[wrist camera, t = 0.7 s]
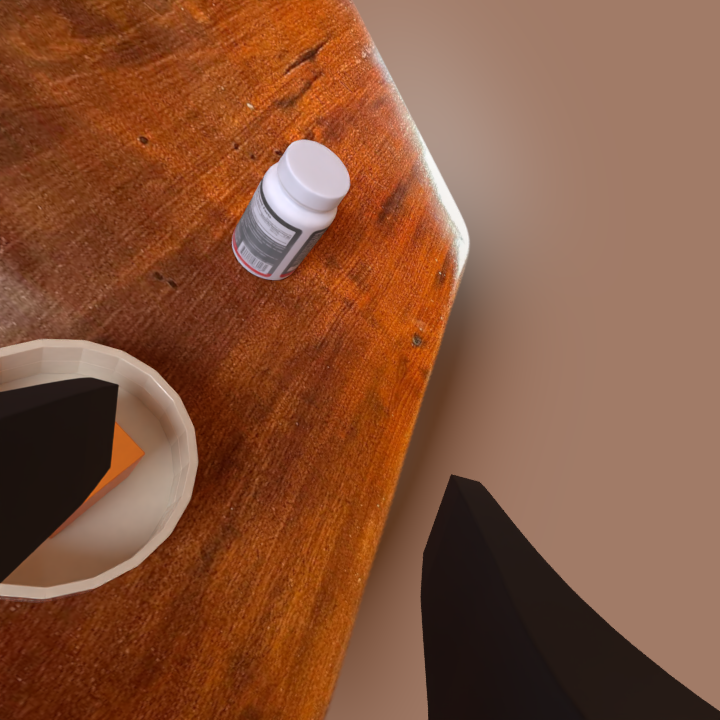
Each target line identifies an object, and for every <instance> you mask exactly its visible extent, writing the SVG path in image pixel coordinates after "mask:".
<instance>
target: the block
mask: <svg viewBox="0 0 720 720" xmlns="http://www.w3.org/2000/svg"><path fill="white" fill-rule="evenodd" d="M144 455H145V452H144V451H143V450H142V449H141V448H140V447H139V446H138V445H137V444H136V442H135V441H134V440H133V439H132V438H131V437H130V436H129V435H128V434H127V433H126V432H125V431H124V430H123V429H122V428H121V426H120V425H119V424H118V423H117V422H116V421H115V429H114V439H113V449H112V459H111V468H110V469H109V471H108V472H107V473H106V475H105V476H104V477H103V478H102V480H101V481H100V482H99V484H98V485H97V486H96V488H95V489H94V490H93V491H92V493H91V494H90V495H89V496H88V498H87V499H86V500H85V501H84V503H83V504H82V505H81V506H80V507H79V508H78V509H77V510H76V511H75V512H74V513H73V514H72V515H71V516H70V517H69V518H68V519H67V520H66V521H65V522H64V523H63V524H62V525H61V526H60V527H59V528H58V529H57V530H56V531H55V532H54V533H53V534H52V535H51V536H49V538H50V539H52V538H53V537H55V536H56V535H57V534H58V533H59V532H61V531H62V530H63V529H64V528H66V527H67V526H68V525H69V524H70V523H72V522H73V521H74V520H75V519H77V518H78V517H79V516H80V515H82V514H83V513H84V512H85V511H86V510H88V509H89V508H90V507H91V506H93V505H94V504H95V503H96V502H97V501H99V500H100V499H101V498H102V497H104V496H105V495H106V494H107V493H109V492H110V491H111V490H112V489H113V488H115V487H116V486H117V485H118V484H120V483H121V482H122V481H123V480H125V479H126V478H127V477H128V476H129V475H130V474H131V472H132V471H133V470H134V468H135V467H136V466H137V464H138V463H139V462H140V460H141V459H142V458H143V456H144Z"/></svg>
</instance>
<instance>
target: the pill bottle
mask: <svg viewBox="0 0 720 720" xmlns="http://www.w3.org/2000/svg"><path fill="white" fill-rule="evenodd" d="M349 187H350V178H349V174H348V171H347V169H346V167H345V166H344V164H343V163H342V161H341V160H340V159H339V158H338V157H337V156H336V155H335V154H334V153H333V152H332V151H331V150H329V149H328V148H327V147H325V146H323V145H321V144H319V143H317V142H314V141H310V140H298V141H295V142H293V143H291V144H290V145H289V147H288V148H287V150H286V151H285V153H284V154H283V156H282V157H281V159H280V161H279V162H278V163H276V164H274V165H273V166H271V167H270V168H269V169H268V171H267V172H266V174H265V175H264V177H263V179H262V180H261V182H260V184H259V186H258V187H257V190H256V191H255V193H254V195H253V197H252V199H251V201H250V203H249V205H248V206H247V208H246V210H245V212H244V214H243V216H242V217H241V219H240V221H239V223H238V224H237V226H236V228H235V230H234V233H233V237H232V247H233V251H234V254H235V256H236V258H237V260H238V261H239V262H240V264H241V265H242V266H243V267H244V268H245V269H246V270H248V271H249V272H251V273H252V274H254V275H256V276H258V277H261V278H264V279H268V280H280V279H284V278H286V277H288V276H290V275H291V274H292V273H293V272H294V271H295V270H296V268H297V267H298V266H299V264H300V263H301V262H302V261H303V259H304V258H305V257H306V256H307V254H308V253H309V252H310V250H311V249H312V248H313V247H314V245H315V244H316V243H317V241H318V240H319V239H320V238H321V236H322V235H323V234H324V232H325V231H326V230H327V229H328V227H329V226H330V225H331V223H332V222H333V220H334V218H335V216H336V213H337V206H338V205H339V204H340V202H341V201H342V199H343V198H344V197H345V195H346V194H347V192H348V190H349Z"/></svg>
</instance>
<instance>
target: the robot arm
mask: <svg viewBox="0 0 720 720" xmlns="http://www.w3.org/2000/svg"><path fill="white" fill-rule="evenodd" d="M118 388H119V385H118V384H115V383H111V382H107V381H104V380H100V379H96V378H93V377H86V378H75V379H68V380H62V381H56V382H50V383H44V384H39V385H34V386H29V387H23V388H18V389H13V390H8V391H2V392H0V583H2V582H3V581H4V580H5V579H6V578H7V577H8V576H9V575H10V574H11V573H12V572H13V571H14V570H15V569H16V568H17V567H18V566H19V565H20V564H21V563H22V562H23V561H24V560H25V559H27V558H28V557H29V556H30V555H31V554H32V553H33V552H34V551H35V550H36V549H37V548H38V547H39V546H40V545H41V544H42V543H43V542H44V541H45V540H46V539H47V538H48V537H49V536H51V535H52V534H53V533H54V532H55V531H56V530H57V529H58V528H59V527H60V526H61V525H62V524H63V523H64V522H65V521H66V520H67V519H68V518H69V517H70V516H71V515H72V514H73V513H74V512H75V511H76V510H77V509H78V508H79V507H80V506H81V505H82V504H83V503H84V501H85V500H86V499H87V498H88V496H89V495H90V494H91V493H92V491H93V490H94V489H95V488H96V486H97V485H98V484H99V482H100V481H101V480H102V478H103V477H104V476H105V475H106V473H107V472H108V471H109V469H110V468H111V459H112V449H113V439H114V429H115V419H116V409H117V399H118ZM421 612H422V628H423V642H424V657H425V671H426V686H427V700H428V720H720V711H719V710H717V709H716V708H714V707H713V706H711V705H710V704H709V703H707V702H706V701H704V700H703V699H701V698H700V697H699V696H697V695H696V694H695V693H693V692H692V691H691V690H689V689H688V688H687V687H685V686H684V685H683V684H681V683H680V682H679V681H677V680H676V679H675V678H673V677H672V676H671V675H669V674H668V673H667V672H666V671H664V670H663V669H662V668H661V667H660V666H658V665H657V664H656V663H655V662H653V661H652V660H651V659H649V658H648V657H647V656H646V655H645V654H643V653H642V652H641V651H639V650H638V649H637V648H636V647H635V646H633V645H632V644H631V643H630V642H629V641H628V640H626V639H625V638H624V637H623V636H622V635H621V634H619V633H618V632H617V631H616V630H615V629H614V628H612V627H611V626H610V625H609V624H608V623H607V622H606V621H605V620H604V619H603V618H602V617H600V615H599V614H597V613H596V612H595V611H594V610H593V609H592V608H591V607H590V606H589V605H588V604H587V603H586V602H584V600H582V599H581V598H580V597H579V596H578V595H577V594H576V593H575V592H574V591H573V590H572V589H571V588H570V587H569V586H568V585H567V583H565V581H564V580H563V579H562V578H561V577H560V576H559V575H558V574H557V573H556V572H555V571H554V569H552V567H551V566H550V565H549V564H548V563H547V562H546V561H545V560H544V559H543V557H542V556H541V555H540V554H539V553H538V552H537V551H536V549H535V548H534V547H533V546H532V545H531V544H530V542H529V541H528V540H527V539H526V538H525V536H524V535H523V534H522V533H521V532H520V530H519V529H518V528H517V527H516V525H515V524H514V523H513V522H512V520H511V519H510V518H509V517H508V515H507V514H506V513H505V512H504V510H503V509H502V508H501V507H500V505H499V504H498V503H497V502H496V500H495V499H494V498H493V497H492V495H491V494H490V493H489V492H488V491H487V489H486V488H485V487H484V486H483V485H482V484H481V483H480V482H477V481H474V480H470V479H467V478H463V477H459V476H456V475H451V476H450V479H449V482H448V485H447V487H446V490H445V493H444V496H443V499H442V502H441V505H440V507H439V510H438V513H437V516H436V519H435V521H434V524H433V527H432V530H431V533H430V536H429V538H428V541H427V545H426V547H425V550H424V553H423V566H422V581H421Z"/></svg>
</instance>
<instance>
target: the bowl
mask: <svg viewBox="0 0 720 720" xmlns="http://www.w3.org/2000/svg"><path fill="white" fill-rule="evenodd" d="M86 377H93V378H96V379H100V380H104V381H107V382H111V383H115V384H118V385H119V388H118V399H117V409H116V419H115V421H116V422H117V423H118V424H119V425H120V426H121V428H122V429H123V430H124V431H125V432H126V433H127V434H128V435H129V436H130V437H131V438H132V439H133V440H134V441H135V442H136V444H137V445H138V446H139V447H140V448H141V449H142V450H143V451H144V452H145V455H144V456H143V458H142V459H141V460H140V462H139V463H138V464H137V466H136V467H135V468H134V470H133V471H132V472H131V474H130V475H129V476H128V477H127V478H126V479H125V480H123V481H122V482H121V483H120V484H118V485H117V486H116V487H115V488H113V489H112V490H111V491H110V492H109V493H107V494H106V495H105V496H104V497H102V498H101V499H100V500H99V501H97V502H96V503H95V504H94V505H93V506H91V507H90V508H89V509H88V510H86V511H85V512H84V513H83V514H82V515H80V516H79V517H78V518H77V519H75V520H74V521H73V522H72V523H70V524H69V525H68V526H67V527H66V528H64V529H63V530H62V531H61V532H59V533H58V534H57V535H56V536H55V537H53V538H52V539H50V538H49V537H48V538H47V539H46V540H45V541H44V542H43V543H42V544H41V545H40V546H39V547H38V548H37V549H36V550H35V551H34V552H33V553H32V554H31V555H30V556H29V557H28V558H27V559H25V560H24V561H23V562H22V563H21V564H20V565H19V566H18V567H17V568H16V569H15V570H14V571H13V572H12V573H11V574H10V575H9V576H8V577H7V578H6V579H5V580H4V581H3V582H2V583H0V600H8V601H16V602H33V603H43V602H48V601H53V600H59V599H63V598H67V597H71V596H76V595H80V594H85V593H87V592H90V591H92V590H94V589H95V588H97V587H99V586H101V585H103V584H105V583H107V582H109V581H110V580H112V579H114V578H116V577H118V576H120V575H122V574H124V573H125V572H127V571H129V570H131V569H133V568H135V567H137V566H138V565H140V564H141V563H142V562H143V561H144V560H145V559H146V558H147V557H148V556H149V555H150V554H151V553H152V552H153V551H154V550H155V549H156V548H157V547H158V546H159V545H160V544H162V543H163V542H164V541H165V540H166V539H167V538H168V537H169V536H170V534H171V533H172V532H173V530H174V528H175V526H176V525H177V523H178V521H179V519H180V518H181V516H182V514H183V512H184V510H185V509H186V507H187V505H188V503H189V502H190V500H191V497H192V492H193V487H194V482H195V478H196V473H197V468H198V453H197V444H196V436H195V428H194V425H193V423H192V421H191V419H190V417H189V415H188V413H187V410H186V408H185V406H184V404H183V402H182V400H181V398H180V397H179V395H178V394H177V393H176V392H175V391H174V389H173V388H172V387H171V386H170V385H169V384H168V383H167V382H166V381H165V380H164V379H163V378H162V376H161V375H160V374H159V373H158V372H157V371H155V369H153V368H151V367H150V366H148V365H146V364H144V363H143V362H141V361H139V360H138V359H136V358H134V357H133V356H131V355H129V354H128V353H126V352H124V351H122V350H118V349H115V348H111V347H108V346H104V345H101V344H97V343H94V342H90V341H87V340H85V341H84V340H66V339H42V340H41V339H39V340H34V341H30V342H25V343H21V344H16V345H12V346H7V347H3V348H0V392H2V391H8V390H13V389H18V388H23V387H29V386H34V385H39V384H44V383H50V382H56V381H62V380H68V379H75V378H86Z"/></svg>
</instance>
